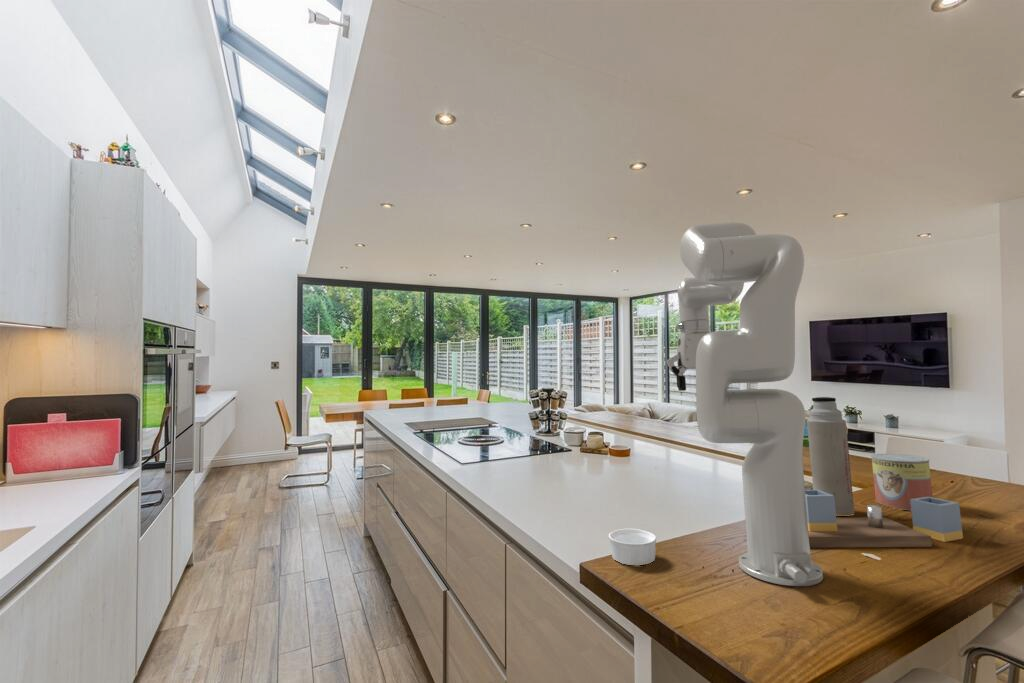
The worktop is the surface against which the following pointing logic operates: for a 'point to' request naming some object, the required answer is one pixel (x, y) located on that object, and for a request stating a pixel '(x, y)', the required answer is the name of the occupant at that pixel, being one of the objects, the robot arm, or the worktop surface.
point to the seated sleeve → (820, 511)
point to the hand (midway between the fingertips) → (699, 389)
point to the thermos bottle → (830, 453)
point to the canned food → (900, 479)
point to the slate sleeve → (937, 518)
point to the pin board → (869, 533)
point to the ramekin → (632, 546)
